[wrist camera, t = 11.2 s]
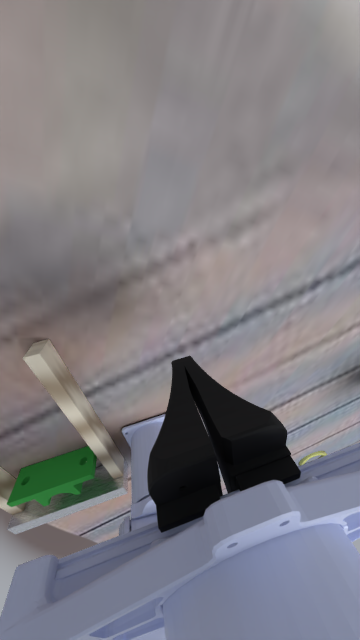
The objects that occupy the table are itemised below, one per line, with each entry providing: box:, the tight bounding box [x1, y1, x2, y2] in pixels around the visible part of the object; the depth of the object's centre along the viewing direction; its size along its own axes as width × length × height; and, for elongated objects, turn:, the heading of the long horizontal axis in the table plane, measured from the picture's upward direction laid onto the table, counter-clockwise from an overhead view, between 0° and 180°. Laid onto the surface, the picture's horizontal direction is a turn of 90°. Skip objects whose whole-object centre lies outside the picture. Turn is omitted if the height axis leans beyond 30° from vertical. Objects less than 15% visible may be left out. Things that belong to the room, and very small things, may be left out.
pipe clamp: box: [7, 446, 97, 507], centre depth 28 cm, size 10×4×4 cm, turn 101°
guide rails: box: [0, 339, 124, 515], centre depth 24 cm, size 24×16×2 cm, turn 11°
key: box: [299, 451, 327, 465], centre depth 51 cm, size 7×12×2 cm, turn 26°
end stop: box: [7, 459, 128, 534], centre depth 30 cm, size 2×16×4 cm, turn 101°
